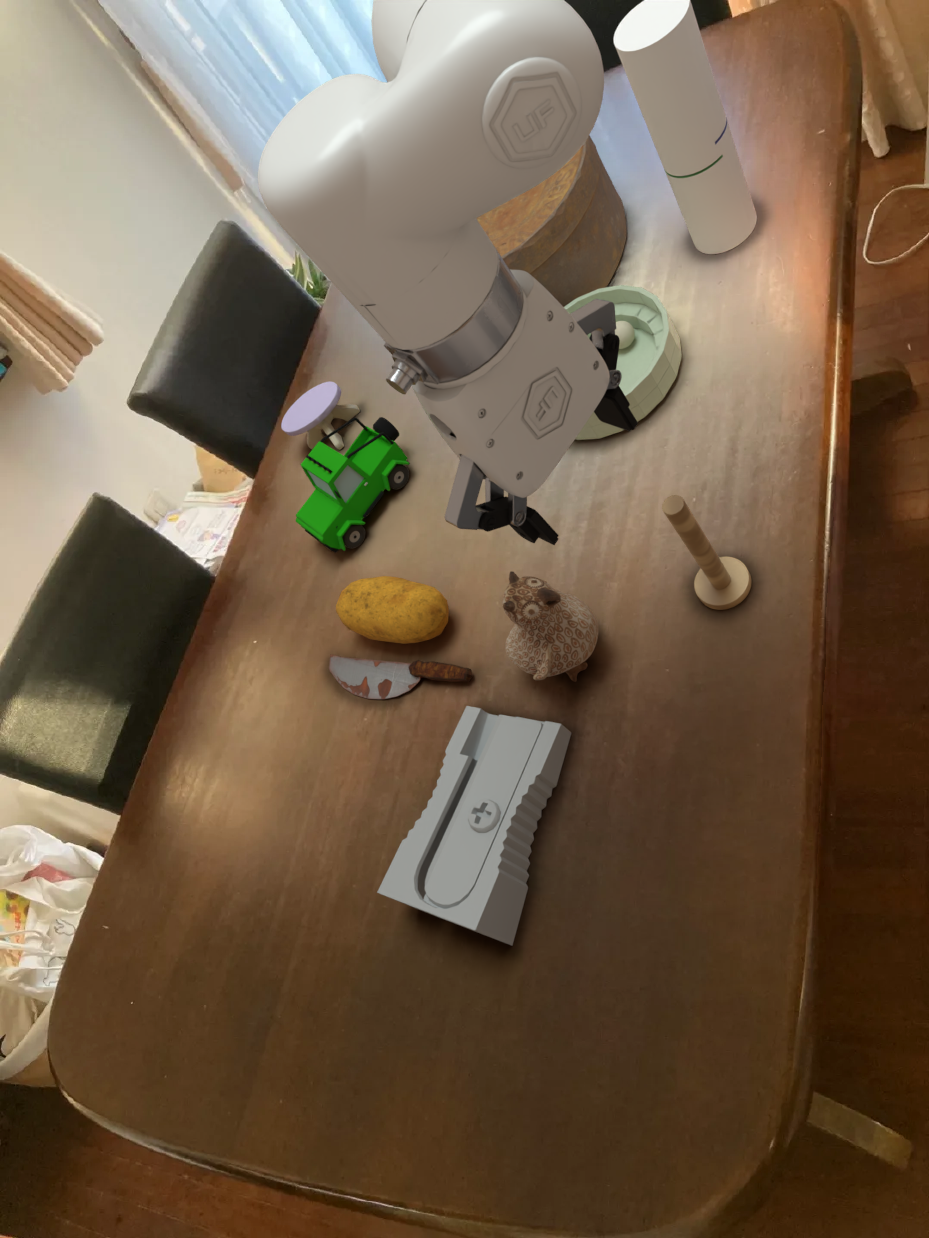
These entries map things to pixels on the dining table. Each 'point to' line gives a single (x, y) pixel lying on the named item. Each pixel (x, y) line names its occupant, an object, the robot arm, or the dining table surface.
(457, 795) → the wedge sharpener
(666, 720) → the dining table surface
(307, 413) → the toy table
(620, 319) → the bowl
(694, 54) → the cylindrical container
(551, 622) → the figurine
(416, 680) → the kitchen knife
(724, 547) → the dining table surface
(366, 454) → the toy car
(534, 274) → the container
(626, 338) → the cream ball
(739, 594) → the wooden peg stand
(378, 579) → the potato
